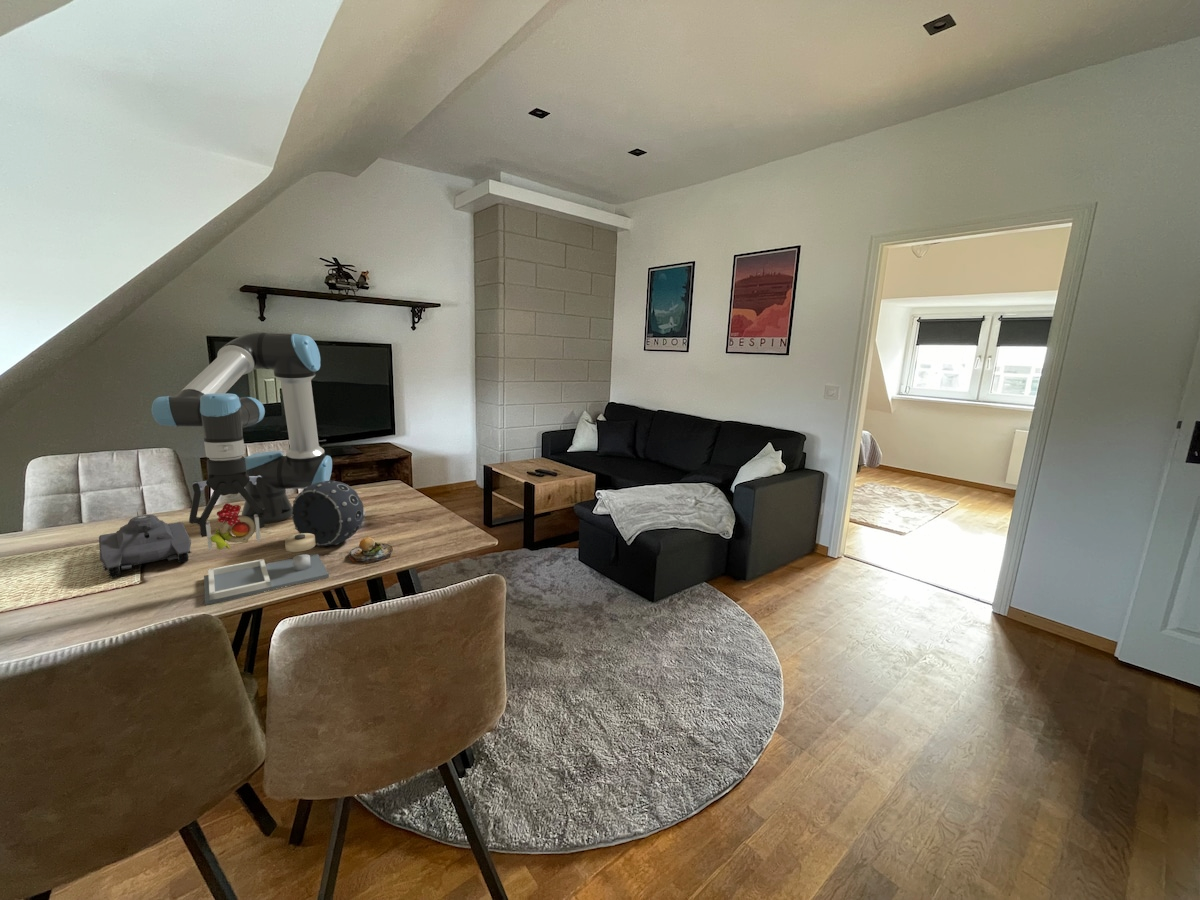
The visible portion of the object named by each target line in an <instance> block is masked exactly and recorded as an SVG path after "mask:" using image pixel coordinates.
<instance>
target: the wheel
mask: <svg viewBox="0 0 1200 900" xmlns="http://www.w3.org/2000/svg"><path fill="white" fill-rule="evenodd" d="M284 546H285V549H284V550H285V551H286V552H287V551H288V552H291V553H292V552H293V553H296V552H299V553H300V552H304V551H305V552H306V551H308V550H311V549H314V547H315V546H317V545H316V544H315V535H314V534H310V533H301V534H300V533H297V534H292V535H289V536H287V537H285V539H284Z"/></svg>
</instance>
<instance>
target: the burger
mask: <svg viewBox="0 0 1200 900" xmlns="http://www.w3.org/2000/svg"><path fill="white" fill-rule="evenodd" d="M392 552H393V547H392V545H390V544H387V543H381V542H380V543H378V542H376V541H375V539H374V538H372V537H367V536H366V537H364V536H363V535H362V539H361V540H360V541H359V544H358V546H355V547H354V548H353V549H351V550H350V552H349V555H348V556H349V558H348V559H349V560H350V561H351V562H352V563H355V564H373V563H379V562H382V561H383V562H384V561H385V560H387V559H389V558H390V557H391V556H392Z"/></svg>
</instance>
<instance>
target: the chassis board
mask: <svg viewBox="0 0 1200 900" xmlns="http://www.w3.org/2000/svg"><path fill="white" fill-rule="evenodd" d="M207 573H208V574H206V575H203V583H204V584H203V587H204V605H205V606H209V605H212V604H217V603H221V602H225V601H231V600H235V599H240V598H243V597H248V596H253V594H254V595H258V594H261V593H260V592H262V593H265V592H264V591H267V592H269V591H268V590H271V591H274V590H273V589H276V588H280V589H282V588H281V587H285V586H289V585H293V586H295V585H294V584H298V585H300V584H299V583H302V584H305V583H304V582H307V583H310V582H309V581H311V582H315V581H319V579H320V580H323V578H324V579H328V578H327V577H329V578H330V574H329V572H328V570H327V568H326V566H325V564H324V562H323V561H322V559H321V557H320V555H319V553H318V552H317V553H312V554H299V555H296V556H294V557H293V558H287V559H282V560H277V561H271V562H267V563H266V562H265V558H260V559H256V560H255V559H254V560H252V561H245V562H241V563H235V564H231V565H225V566H219V567H214V568H209V569H208V572H207ZM314 580H315V581H314ZM289 587H290V586H289ZM285 588H286V587H285ZM276 590H277V589H276ZM257 593H258V594H257Z"/></svg>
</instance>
